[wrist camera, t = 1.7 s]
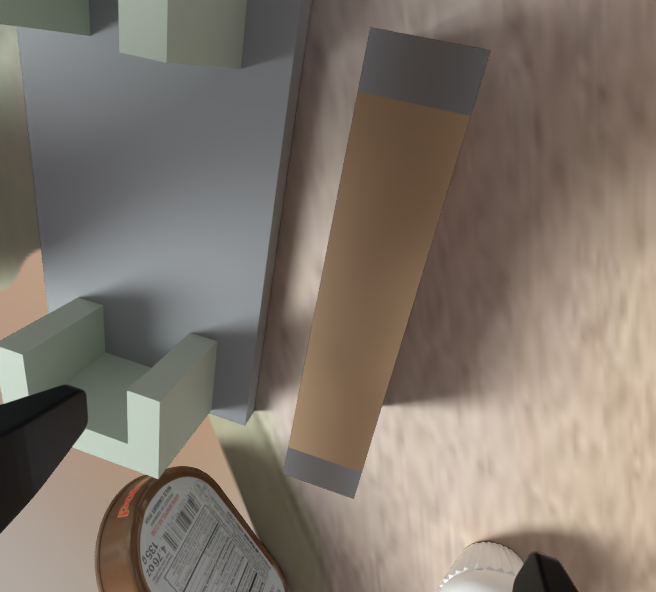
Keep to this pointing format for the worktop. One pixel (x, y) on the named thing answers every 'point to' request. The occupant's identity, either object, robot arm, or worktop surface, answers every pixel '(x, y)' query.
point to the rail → (379, 244)
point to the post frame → (154, 208)
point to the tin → (180, 540)
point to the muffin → (483, 569)
